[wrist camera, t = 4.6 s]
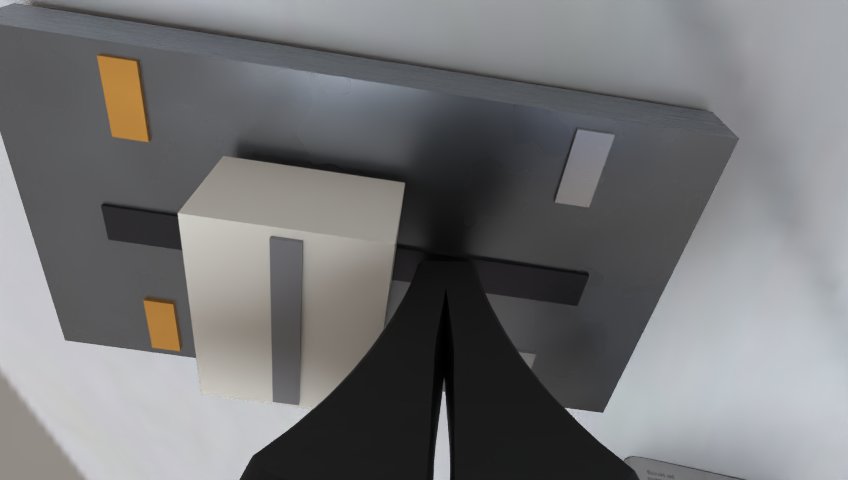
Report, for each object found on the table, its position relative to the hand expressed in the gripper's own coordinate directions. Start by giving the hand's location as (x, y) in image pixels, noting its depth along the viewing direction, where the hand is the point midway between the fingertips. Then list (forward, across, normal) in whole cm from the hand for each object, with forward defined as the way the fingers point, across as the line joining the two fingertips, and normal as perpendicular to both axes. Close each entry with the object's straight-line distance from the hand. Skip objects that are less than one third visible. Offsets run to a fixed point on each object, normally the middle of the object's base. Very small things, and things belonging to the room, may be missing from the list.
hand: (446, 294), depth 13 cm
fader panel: (+2, +2, 0) cm, 3 cm away
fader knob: (0, +3, 0) cm, 3 cm away
